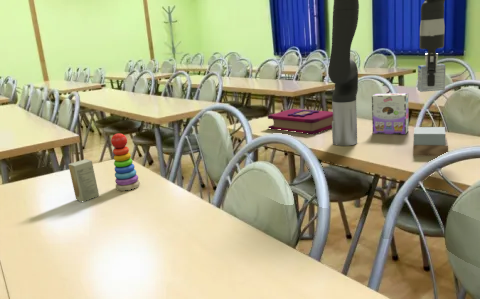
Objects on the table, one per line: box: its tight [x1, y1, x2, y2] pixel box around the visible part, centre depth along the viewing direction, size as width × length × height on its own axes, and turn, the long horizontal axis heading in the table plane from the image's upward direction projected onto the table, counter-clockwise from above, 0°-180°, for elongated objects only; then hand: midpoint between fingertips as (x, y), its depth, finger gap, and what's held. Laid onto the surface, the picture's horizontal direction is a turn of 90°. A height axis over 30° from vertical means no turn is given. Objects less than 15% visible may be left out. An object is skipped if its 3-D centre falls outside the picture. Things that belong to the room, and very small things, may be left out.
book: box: [267, 108, 333, 135], centre depth 213 cm, size 21×28×8 cm
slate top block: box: [413, 126, 446, 145], centre depth 157 cm, size 10×10×4 cm
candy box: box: [371, 92, 409, 135], centre depth 187 cm, size 14×6×16 cm, turn 58°
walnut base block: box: [412, 137, 449, 157], centre depth 158 cm, size 11×11×4 cm
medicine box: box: [417, 63, 447, 93], centre depth 152 cm, size 8×4×9 cm, turn 84°
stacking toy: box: [110, 133, 141, 192], centre depth 147 cm, size 8×8×19 cm
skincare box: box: [68, 158, 100, 203], centre depth 142 cm, size 6×4×12 cm
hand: (430, 84), depth 152 cm, fingers closed on medicine box, 5 cm apart
